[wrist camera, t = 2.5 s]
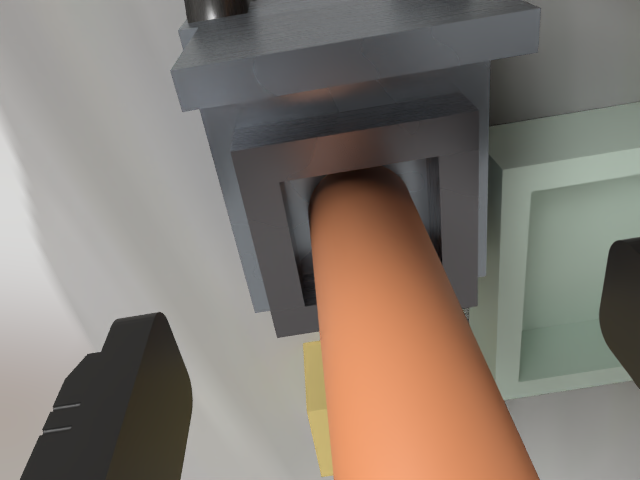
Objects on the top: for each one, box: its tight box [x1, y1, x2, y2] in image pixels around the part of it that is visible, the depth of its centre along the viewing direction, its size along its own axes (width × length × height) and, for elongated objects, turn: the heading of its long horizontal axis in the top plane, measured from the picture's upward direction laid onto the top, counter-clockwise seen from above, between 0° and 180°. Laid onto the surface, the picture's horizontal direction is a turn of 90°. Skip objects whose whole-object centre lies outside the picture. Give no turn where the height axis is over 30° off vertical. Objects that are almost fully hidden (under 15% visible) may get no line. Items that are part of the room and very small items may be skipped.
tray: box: [469, 102, 640, 400], centre depth 18 cm, size 9×9×3 cm
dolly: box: [170, 0, 541, 338], centre depth 13 cm, size 9×6×8 cm, turn 9°
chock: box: [303, 341, 333, 477], centre depth 21 cm, size 4×5×4 cm
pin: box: [308, 166, 540, 480], centre depth 8 cm, size 2×2×10 cm
